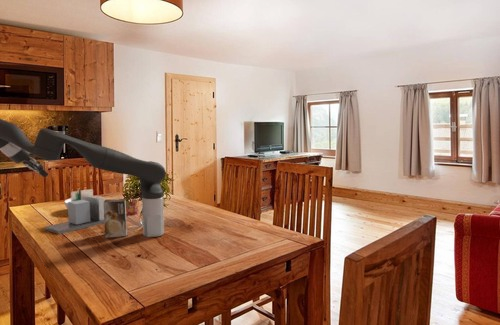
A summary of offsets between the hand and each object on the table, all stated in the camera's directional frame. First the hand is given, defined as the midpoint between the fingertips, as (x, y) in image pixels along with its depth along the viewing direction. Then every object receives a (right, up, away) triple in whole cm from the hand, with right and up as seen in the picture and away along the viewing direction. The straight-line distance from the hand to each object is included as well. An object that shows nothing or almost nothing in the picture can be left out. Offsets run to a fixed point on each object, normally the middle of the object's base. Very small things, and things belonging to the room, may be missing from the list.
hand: (46, 175), depth 158 cm
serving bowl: (-3, -22, +44) cm, 49 cm away
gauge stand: (+7, -25, +13) cm, 29 cm away
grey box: (+8, -23, +14) cm, 28 cm away
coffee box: (+32, -27, 0) cm, 42 cm away
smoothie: (+26, -23, +38) cm, 52 cm away
